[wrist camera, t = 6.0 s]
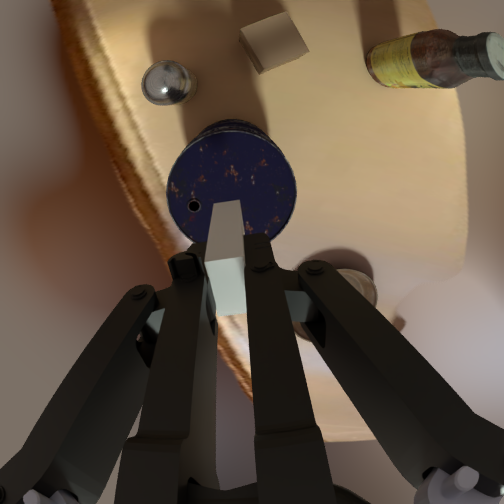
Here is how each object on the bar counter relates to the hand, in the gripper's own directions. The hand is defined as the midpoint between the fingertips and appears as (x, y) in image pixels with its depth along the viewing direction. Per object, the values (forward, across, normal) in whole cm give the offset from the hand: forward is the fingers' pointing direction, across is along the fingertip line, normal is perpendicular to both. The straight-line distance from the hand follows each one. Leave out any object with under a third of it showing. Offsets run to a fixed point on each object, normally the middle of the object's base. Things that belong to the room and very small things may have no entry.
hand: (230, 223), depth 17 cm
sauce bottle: (+20, +21, +11) cm, 31 cm away
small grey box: (+20, +6, +13) cm, 24 cm away
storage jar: (+20, 0, 0) cm, 20 cm away
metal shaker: (+20, -5, +10) cm, 23 cm away
